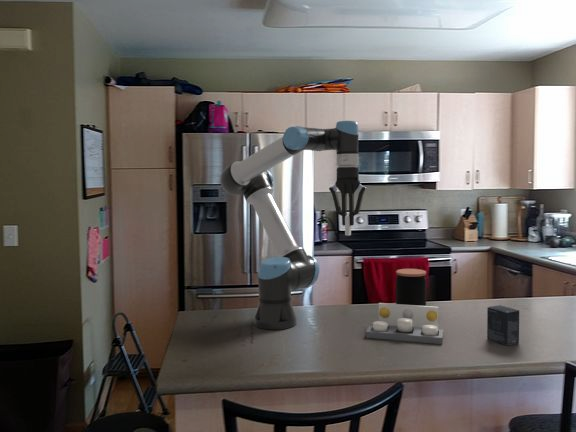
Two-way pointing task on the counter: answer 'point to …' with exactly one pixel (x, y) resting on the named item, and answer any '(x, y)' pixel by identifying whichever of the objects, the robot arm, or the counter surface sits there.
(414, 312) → the pattern card
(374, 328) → the button left
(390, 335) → the board
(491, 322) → the box
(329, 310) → the counter surface
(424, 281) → the coffee jar
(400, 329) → the button mid
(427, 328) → the button right
